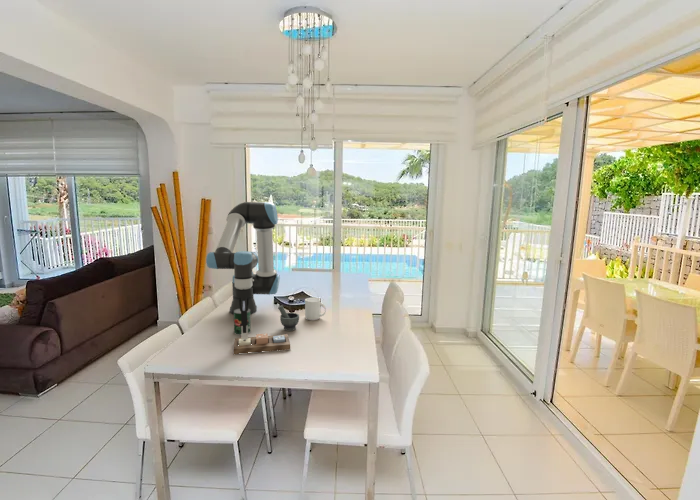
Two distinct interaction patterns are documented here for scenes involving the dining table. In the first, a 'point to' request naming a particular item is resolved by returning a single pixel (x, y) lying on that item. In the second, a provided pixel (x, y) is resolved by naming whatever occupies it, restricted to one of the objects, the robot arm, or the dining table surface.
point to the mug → (313, 308)
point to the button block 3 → (278, 339)
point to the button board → (261, 345)
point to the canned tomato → (238, 321)
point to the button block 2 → (261, 338)
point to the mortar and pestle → (288, 319)
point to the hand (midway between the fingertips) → (244, 338)
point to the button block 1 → (245, 342)
